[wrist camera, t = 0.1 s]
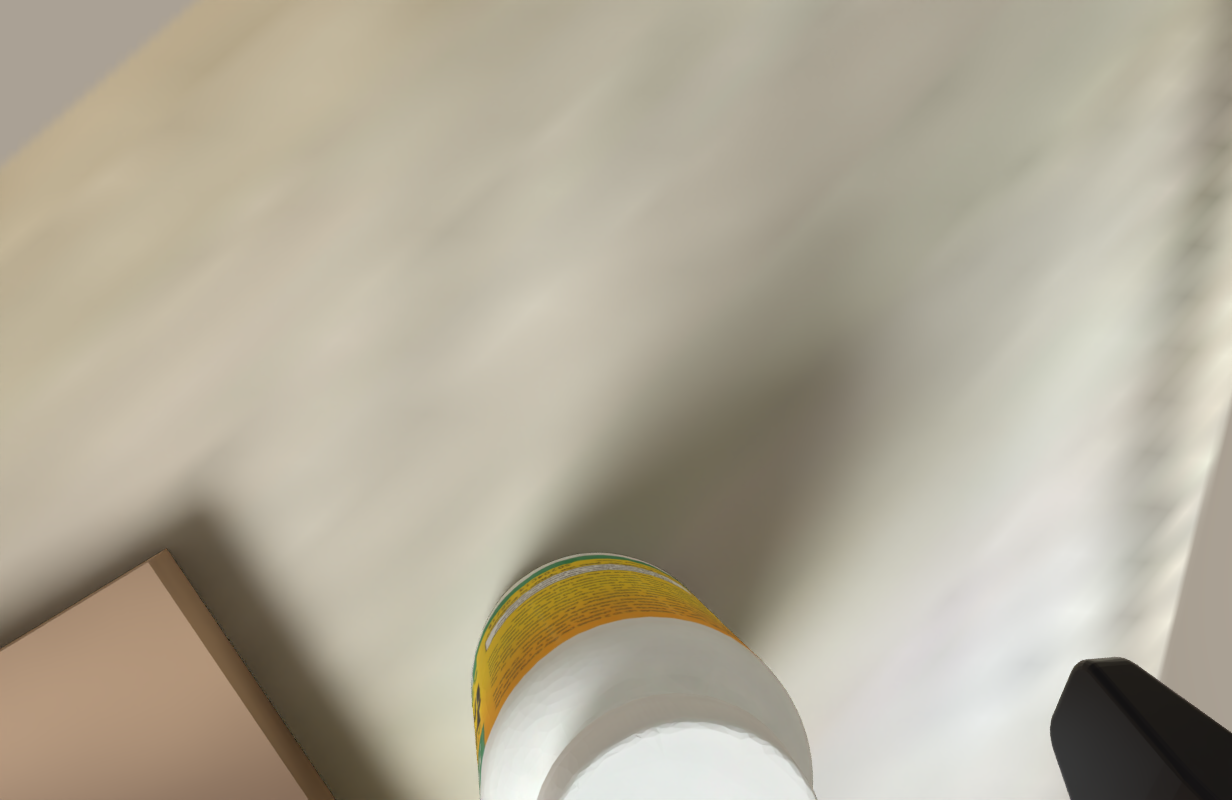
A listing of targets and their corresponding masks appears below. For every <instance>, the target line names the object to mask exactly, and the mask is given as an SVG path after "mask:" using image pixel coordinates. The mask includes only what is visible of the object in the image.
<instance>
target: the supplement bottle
mask: <svg viewBox="0 0 1232 800" xmlns="http://www.w3.org/2000/svg"><path fill="white" fill-rule="evenodd" d="M471 692H472V708H473V716H474V727H475V737H476V750H477V762H478V774H479V788H480V800H817V797H816V795H815V792H814V791H813V770H812V760H811V753H810V747H809V743H808V739H807V735H806V732H805V729H804V726H803V723H802V720H801V718H800V716H799V713H798V711H797V709H796V707H795V705H794V703H793V701H792V700H791V698H790V696H789V694H788V692H787V691H786V689H785V688H784V687H783V685H782V684H781V682H780V681H779V680H778V678H777V677H776V676H775V675H774V673H773V672H772V671H771V670H770V669H769V668H768V667H767V666H766V665H765V664H764V662H763V661H762V660H761V659H760V658H759V657H758V656H757V655H755V654H754V653H753V652H752V651H751V650H750V649H749V648H748V647H747V646H746V645H745V644H744V643H743V642H742V641H740V640H739V639H738V638H737V637H736V636H735V635H734V634H733V633H732V632H731V631H730V630H729V629H728V628H727V627H726V626H725V625H724V624H723V623H721V622H720V620H719V619H718V618H717V617H716V616H715V615H714V614H713V613H712V612H710V611H709V610H708V609H707V608H706V607H705V606H704V605H703V604H702V603H701V602H700V601H699V600H698V599H697V598H696V597H695V596H694V595H693V594H692V593H691V592H690V591H689V590H688V589H687V588H686V587H685V586H684V585H682V584H681V583H680V582H679V581H677V580H676V579H675V578H673V577H672V576H671V575H669V574H668V573H666V572H665V571H663V570H661V569H660V568H658V567H656V566H654V565H652V564H649V563H647V562H644V561H641V560H639V559H636V558H632V557H628V556H624V555H618V554H611V553H583V554H575V555H571V556H567V557H563V558H560V559H557V560H554V561H552V562H550V563H547V564H545V565H543V566H541V567H539V568H537V569H535V570H534V571H532V572H530V573H529V574H527V575H526V576H525V577H523V578H522V579H521V580H519V581H518V582H517V583H515V584H514V585H513V586H512V587H511V588H510V589H509V590H508V591H507V592H506V593H505V594H504V595H503V596H502V598H501V599H500V600H499V602H498V603H497V604H496V606H495V607H494V609H493V611H492V612H491V614H490V616H489V617H488V619H487V621H486V623H485V625H484V628H483V630H482V632H481V635H480V638H479V641H478V644H477V647H476V651H475V656H474V661H473V667H472V678H471Z"/></svg>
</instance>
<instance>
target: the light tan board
mask: <svg viewBox="0 0 1232 800" xmlns="http://www.w3.org/2000/svg"><path fill="white" fill-rule="evenodd" d="M0 800H335V798H334V797H333V795H332V794H331V792H330V791H329V789H328V788H327V786H326V785H325V783H324V782H323V780H322V779H321V777H320V776H319V774H318V773H317V771H316V770H315V769H314V767H313V766H312V764H311V763H310V761H309V760H308V758H307V757H306V755H305V754H304V752H303V751H302V749H301V748H300V746H299V745H298V743H297V742H296V740H295V739H294V737H293V736H292V734H291V733H290V731H289V730H288V728H287V727H286V725H285V724H284V722H283V721H282V719H281V718H280V716H279V715H278V713H277V712H276V710H275V709H274V708H273V706H272V705H271V703H270V702H269V700H268V699H267V697H266V696H265V694H264V693H263V691H262V690H261V688H260V687H259V685H258V684H257V682H256V681H255V679H254V678H253V676H252V675H251V673H250V672H249V670H248V669H247V667H246V666H245V664H244V663H243V661H242V660H241V658H240V657H239V655H238V654H237V652H236V651H235V649H234V648H233V646H232V645H231V644H230V642H229V641H228V639H227V638H226V636H225V635H224V633H223V632H222V630H221V629H220V627H219V626H218V624H217V623H216V621H215V620H214V618H213V617H212V615H211V614H210V612H209V611H208V609H207V608H206V606H205V605H204V603H203V602H202V600H201V599H200V597H199V596H198V594H197V593H196V591H195V590H194V588H193V587H192V585H191V584H190V582H189V581H188V580H187V578H186V577H185V575H184V574H183V572H182V571H181V569H180V568H179V566H178V565H177V563H176V562H175V560H174V559H173V557H172V556H171V554H170V553H169V551H168V550H167V548H166V549H164V550H163V551H161V552H159V553H158V554H156V555H154V556H153V557H151V558H150V559H148V560H146V561H145V562H143V563H141V564H140V565H138V566H136V567H135V568H133V569H131V570H130V571H128V572H126V573H125V574H123V575H121V576H120V577H118V578H117V579H115V580H113V581H112V582H110V583H108V584H107V585H105V586H103V587H102V588H100V589H98V590H97V591H95V592H93V593H92V594H90V595H88V596H87V597H85V598H84V599H82V600H80V601H79V602H77V603H75V604H74V605H72V606H70V607H69V608H67V609H65V610H64V611H62V612H60V613H59V614H57V615H55V616H54V617H52V618H51V619H49V620H47V621H46V622H44V623H42V624H41V625H39V626H37V627H36V628H34V629H32V630H31V631H29V632H27V633H26V634H24V635H22V636H21V637H19V638H18V639H16V640H14V641H13V642H11V643H9V644H8V645H6V646H4V647H3V648H1V649H0Z"/></svg>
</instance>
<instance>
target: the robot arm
mask: <svg viewBox="0 0 1232 800" xmlns="http://www.w3.org/2000/svg"><path fill="white" fill-rule="evenodd" d="M1050 736H1051V742H1052V746H1053V750H1054V753H1055V756H1056V759H1057V762H1058V765H1059V768H1060V770H1061V773H1062V776H1063V779H1064V782H1065V785H1066V788H1067V791H1068V794H1069V797H1070V799H1071V800H1232V733H1231V732H1230V731H1228V730H1227V729H1226V728H1224V727H1222V726H1221V725H1220V724H1219V723H1217V722H1215V721H1214V720H1213V719H1212V718H1210V717H1209V716H1207V715H1206V714H1205V713H1203V712H1202V711H1200V710H1199V709H1198V708H1196V707H1195V706H1194V705H1192V704H1191V703H1189V702H1188V701H1187V700H1185V699H1184V698H1182V697H1181V696H1180V695H1178V694H1177V693H1175V692H1174V691H1173V690H1171V689H1170V688H1168V687H1167V686H1166V685H1164V684H1163V683H1161V682H1160V681H1159V680H1157V679H1156V678H1155V677H1153V676H1152V675H1150V674H1149V673H1148V672H1146V671H1145V670H1143V669H1142V668H1141V667H1139V666H1138V665H1136V664H1135V663H1133V662H1131V661H1130V660H1127V659H1125V658H1121V657H1109V658H1098V659H1086V660H1082V661H1080V662H1079V663H1078V664H1076V665H1075V666H1074V668H1073V669H1072V671H1071V674H1070V676H1069V678H1068V681H1067V683H1066V685H1065V688H1064V690H1063V692H1062V695H1061V697H1060V699H1059V702H1058V704H1057V706H1056V709H1055V711H1054V713H1053V716H1052V719H1051V726H1050Z"/></svg>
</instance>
